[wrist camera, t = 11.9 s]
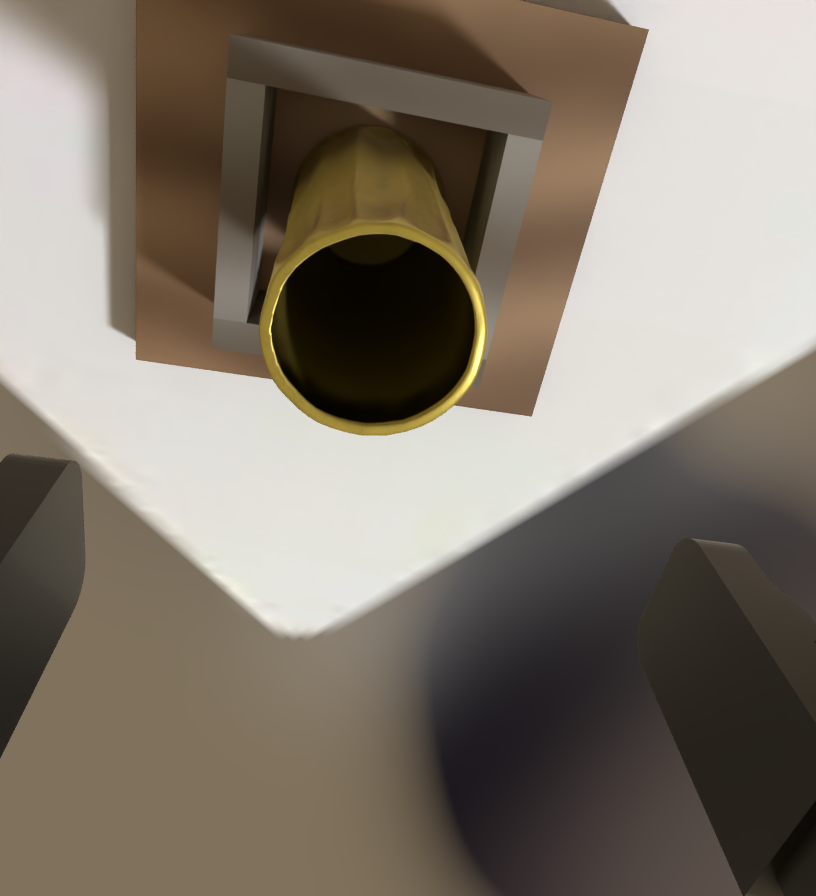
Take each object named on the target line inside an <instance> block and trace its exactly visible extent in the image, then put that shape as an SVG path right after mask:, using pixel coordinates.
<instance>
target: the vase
mask: <svg viewBox="0 0 816 896" xmlns="http://www.w3.org/2000/svg"><path fill="white" fill-rule="evenodd" d="M487 332H488V330H487V318H486V310H485V303H484V297H483V293H482V290H481V286H480V283H479V281H478V279H477V277H476V276H475V274H474V273H473V271H472V269H471V267H470V264H469V262H468V259H467V256H466V254H465V251H464V248H463V246H462V243H461V240H460V238H459V235H458V232H457V230H456V228H455V226H454V224H453V221H452V219H451V215H450V212H449V209H448V206H447V204H446V198H445V190H444V186H443V182H442V180H441V177H440V175H439V172H438V170H437V168H436V166H435V164H434V163H433V161H432V159H431V158H430V157H429V156H428V155H427V153H426V152H425V151H424V150H423V149H422V148H421V147H420V146H419V145H417V144H416V143H415V142H414V141H412V140H411V139H410V138H408V137H407V136H405V135H403V134H401V133H399V132H397V131H394V130H391V129H388V128H384V127H379V126H366V125H360V126H354V127H350V128H347V129H344V130H342V131H339V132H337V133H335V134H333V135H331V136H329V137H327V138H325V139H324V140H322V141H321V142H320V143H318V144H317V145H316V146H315V147H314V148H313V149H312V150H311V151H310V153H309V154H308V155H307V157H306V158H305V159H304V161H303V162H302V164H301V166H300V167H299V169H298V172H297V175H296V177H295V181H294V185H293V190H292V198H291V210H290V213H289V216H288V221H287V228H286V233H285V237H284V241H283V243H282V246H281V248H280V250H279V253H278V256H277V258H276V261H275V264H274V268H273V272H272V276H271V279H270V282H269V285H268V289H267V293H266V297H265V300H264V304H263V308H262V311H261V316H260V323H259V338H260V345H261V350H262V354H263V357H264V360H265V363H266V366H267V369H268V371H269V373H270V375H271V377H272V379H273V381H274V382H275V384H276V385H277V387H278V388H279V389H280V390H281V391H282V393H283V394H284V395H285V396H286V397H287V398H288V399H289V400H290V401H291V402H292V403H293V404H294V405H295V406H296V407H297V408H298V409H299V410H301V411H302V412H303V413H304V414H306V415H307V416H308V417H310V418H312V419H313V420H315V421H317V422H318V423H320V424H323V425H326V426H328V427H331V428H334V429H337V430H340V431H344V432H348V433H353V434H357V435H391V434H396V433H401V432H406V431H409V430H412V429H415V428H418V427H421V426H423V425H425V424H427V423H429V422H431V421H433V420H435V419H436V418H438V417H439V416H441V415H442V414H444V413H445V412H446V411H447V410H449V409H450V408H451V407H452V406H454V405H455V404H456V403H457V402H458V401H459V400H460V399H461V398H462V396H463V395H464V394H465V393H466V392H467V391H468V389H469V388H470V387H471V385H472V384H473V383H474V380H475V378H476V376H477V374H478V372H479V369H480V366H481V363H482V360H483V357H484V354H485V349H486V344H487Z"/></svg>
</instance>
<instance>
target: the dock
mask: <svg viewBox="0 0 816 896" xmlns="http://www.w3.org/2000/svg"><path fill="white" fill-rule="evenodd" d="M648 31H649V30H648V29H644V28H639V27H635V26H631V25H626V24H622V23H617V22H613V21H609V20H604V19H600V18H595V17H591V16H587V15H582V14H578V13H573V12H569V11H565V10H560V9H556V8H552V7H547V6H543V5H538V4H534V3H530V2H525V1H521V0H136V360H142V361H149V362H156V363H163V364H170V365H177V366H184V367H191V368H198V369H205V370H212V371H219V372H226V373H233V374H240V375H247V376H254V377H261V378H268V379H272V377H271V375H270V373H269V371H268V369H267V366H266V363H265V360H264V357H263V354H262V350H261V345H260V338H259V323H260V316H261V311H262V308H263V304H264V300H265V297H266V293H267V289H268V285H269V282H270V279H271V276H272V272H273V268H274V264H275V261H276V258H277V256H278V253H279V250H280V248H281V246H282V243H283V241H284V237H285V233H286V228H287V221H288V216H289V213H290V210H291V198H292V190H293V185H294V181H295V177H296V175H297V172H298V169H299V167H300V166H301V164H302V162H303V161H304V159H305V158H306V157H307V155H308V154H309V153H310V151H311V150H312V149H313V148H314V147H315V146H316V145H317V144H318V143H320V142H321V141H322V140H324V139H325V138H327V137H329V136H331V135H333V134H335V133H337V132H339V131H342V130H344V129H347V128H350V127H354V126H360V125H366V126H379V127H384V128H388V129H391V130H394V131H397V132H399V133H401V134H403V135H405V136H407V137H408V138H410V139H411V140H412V141H414V142H415V143H416V144H417V145H419V146H420V147H421V148H422V149H423V150H424V151H425V152H426V153H427V155H428V156H429V157H430V158H431V159H432V161H433V163H434V164H435V166H436V168H437V170H438V172H439V175H440V177H441V180H442V182H443V186H444V190H445V198H446V204H447V206H448V209H449V212H450V215H451V219H452V221H453V224H454V226H455V228H456V230H457V232H458V235H459V238H460V240H461V243H462V246H463V248H464V251H465V254H466V256H467V259H468V262H469V264H470V267H471V269H472V271H473V273H474V274H475V276H476V277H477V279H478V281H479V283H480V286H481V290H482V293H483V297H484V303H485V310H486V318H487V330H488V332H487V344H486V349H485V354H484V357H483V360H482V363H481V366H480V369H479V372H478V374H477V376H476V378H475V380H474V383H473V384H472V385H471V387H470V388H469V389H468V391H467V392H466V393H465V394H464V395H463V396H462V398H461V399H460V400H459V401H458V402H457V403H456V404H455V405H456V406H463V407H469V408H476V409H483V410H490V411H497V412H504V413H511V414H518V415H525V416H532V414H533V410H534V407H535V404H536V400H537V397H538V394H539V390H540V387H541V384H542V381H543V377H544V374H545V371H546V367H547V364H548V361H549V357H550V354H551V351H552V348H553V344H554V341H555V338H556V334H557V331H558V328H559V324H560V321H561V318H562V315H563V311H564V308H565V305H566V301H567V298H568V295H569V291H570V288H571V285H572V282H573V278H574V275H575V272H576V268H577V265H578V262H579V259H580V255H581V252H582V249H583V245H584V242H585V239H586V235H587V232H588V229H589V226H590V222H591V219H592V216H593V212H594V209H595V206H596V202H597V199H598V196H599V193H600V189H601V186H602V183H603V179H604V176H605V173H606V169H607V166H608V163H609V160H610V156H611V153H612V150H613V146H614V143H615V140H616V137H617V133H618V130H619V127H620V123H621V120H622V117H623V113H624V110H625V107H626V104H627V100H628V97H629V94H630V90H631V87H632V84H633V80H634V77H635V74H636V71H637V67H638V64H639V61H640V57H641V54H642V51H643V47H644V44H645V41H646V38H647V34H648Z"/></svg>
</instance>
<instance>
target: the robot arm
mask: <svg viewBox="0 0 816 896" xmlns="http://www.w3.org/2000/svg"><path fill="white" fill-rule="evenodd" d="M84 571H85V537H84V515H83V491H82V475H81V469H80V466H79V464H78V463H77V462H76V461H71V460H63V459H54V458H46V457H38V456H30V455H22V454H13V453H12V454H9V455H7V456H6V457H5V458H4V459H3V460H2V461H1V462H0V758H1V756H2V754H3V752H4V750H5V748H6V746H7V744H8V742H9V740H10V738H11V736H12V734H13V731H14V730H15V728H16V726H17V724H18V721H19V720H20V717H21V716H22V714H23V712H24V710H25V708H26V706H27V704H28V701H29V699H30V697H31V695H32V693H33V691H34V689H35V687H36V685H37V683H38V681H39V679H40V677H41V675H42V673H43V671H44V669H45V667H46V665H47V663H48V661H49V659H50V657H51V655H52V653H53V651H54V649H55V647H56V645H57V643H58V641H59V639H60V637H61V635H62V633H63V631H64V629H65V627H66V625H67V623H68V621H69V619H70V617H71V615H72V613H73V610H74V609H75V606H76V604H77V601H78V598H79V595H80V592H81V588H82V584H83V578H84ZM637 647H638V655H639V659H640V662H641V665H642V668H643V670H644V672H645V674H646V677H647V679H648V681H649V684H650V686H651V688H652V690H653V693H654V695H655V697H656V700H657V702H658V704H659V706H660V709H661V711H662V713H663V715H664V718H665V720H666V722H667V725H668V727H669V729H670V731H671V734H672V736H673V738H674V740H675V743H676V745H677V747H678V750H679V751H680V754H681V756H682V758H683V761H684V763H685V765H686V768H687V770H688V772H689V775H690V777H691V779H692V781H693V784H694V786H695V788H696V790H697V793H698V795H699V797H700V799H701V802H702V804H703V806H704V809H705V811H706V813H707V815H708V818H709V820H710V822H711V825H712V827H713V829H714V831H715V834H716V836H717V838H718V840H719V843H720V845H721V847H722V850H723V852H724V854H725V856H726V858H727V861H728V863H729V865H730V867H731V870H732V872H733V875H734V877H735V879H736V881H737V883H738V886H739V888H740V890H741V893H742V895H743V896H816V624H815V622H814V621H813V619H812V618H811V617H810V615H809V614H808V613H807V612H806V611H805V610H804V609H803V608H801V607H800V606H799V605H798V604H796V603H795V602H794V601H793V600H792V599H790V598H789V597H788V596H787V595H786V594H784V593H783V592H782V591H781V590H779V589H778V588H777V587H776V586H775V585H773V584H771V582H770V581H769V580H768V578H767V577H766V576H765V574H764V573H763V572H762V571H761V569H760V568H759V566H758V565H757V564H756V562H755V561H754V559H752V557H751V556H750V554H749V553H748V552H747V550H746V549H745V548H744V547H742V546H740V545H738V544H730V543H723V542H714V541H706V540H698V539H690V538H686V539H683V540H681V541H680V542H678V543H677V544H676V546H675V547H674V549H673V551H672V552H671V555H670V557H669V559H668V561H667V563H666V565H665V568H664V570H663V572H662V574H661V576H660V578H659V581H658V583H657V585H656V587H655V589H654V592H653V594H652V596H651V598H650V600H649V603H648V604H647V607H646V609H645V611H644V613H643V615H642V618H641V620H640V624H639V628H638V636H637Z"/></svg>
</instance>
